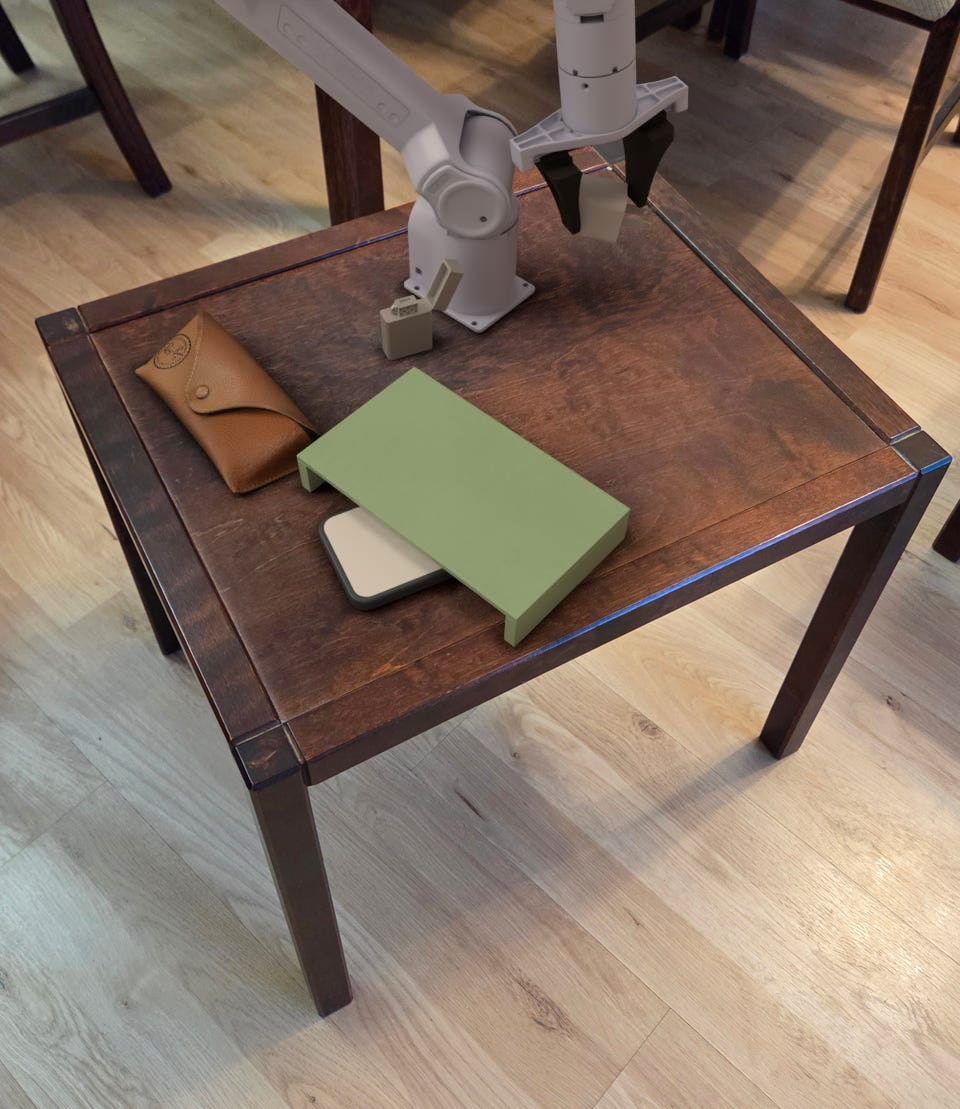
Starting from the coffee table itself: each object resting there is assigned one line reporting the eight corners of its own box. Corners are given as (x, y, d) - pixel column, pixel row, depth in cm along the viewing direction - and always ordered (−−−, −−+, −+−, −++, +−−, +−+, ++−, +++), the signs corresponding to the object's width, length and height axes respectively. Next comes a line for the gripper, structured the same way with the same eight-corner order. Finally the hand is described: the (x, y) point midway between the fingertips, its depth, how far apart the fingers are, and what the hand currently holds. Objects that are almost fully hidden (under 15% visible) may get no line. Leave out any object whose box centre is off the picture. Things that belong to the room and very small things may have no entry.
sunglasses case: (125, 370, 89) (145, 300, 86) (196, 369, 95) (218, 304, 91) (236, 500, 81) (263, 430, 78) (307, 492, 87) (335, 426, 83)
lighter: (389, 361, 91) (383, 288, 85) (382, 348, 92) (376, 275, 86) (464, 339, 93) (464, 266, 87) (456, 326, 94) (456, 253, 88)
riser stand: (302, 486, 83) (296, 455, 80) (415, 398, 89) (414, 366, 86) (514, 647, 75) (516, 619, 72) (624, 538, 81) (631, 508, 78)
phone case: (358, 620, 76) (553, 541, 80) (355, 608, 75) (554, 529, 79) (314, 532, 81) (501, 461, 85) (311, 519, 79) (501, 448, 83)
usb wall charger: (566, 211, 91) (577, 169, 88) (644, 227, 91) (658, 186, 88) (563, 237, 88) (574, 194, 85) (644, 253, 89) (657, 212, 86)
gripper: (656, 3, 81) (656, 161, 92) (485, 67, 79) (506, 220, 90) (704, 41, 77) (699, 201, 88) (525, 109, 75) (542, 264, 85)
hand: (604, 214), depth 88 cm, fingers closed on usb wall charger, 5 cm apart
